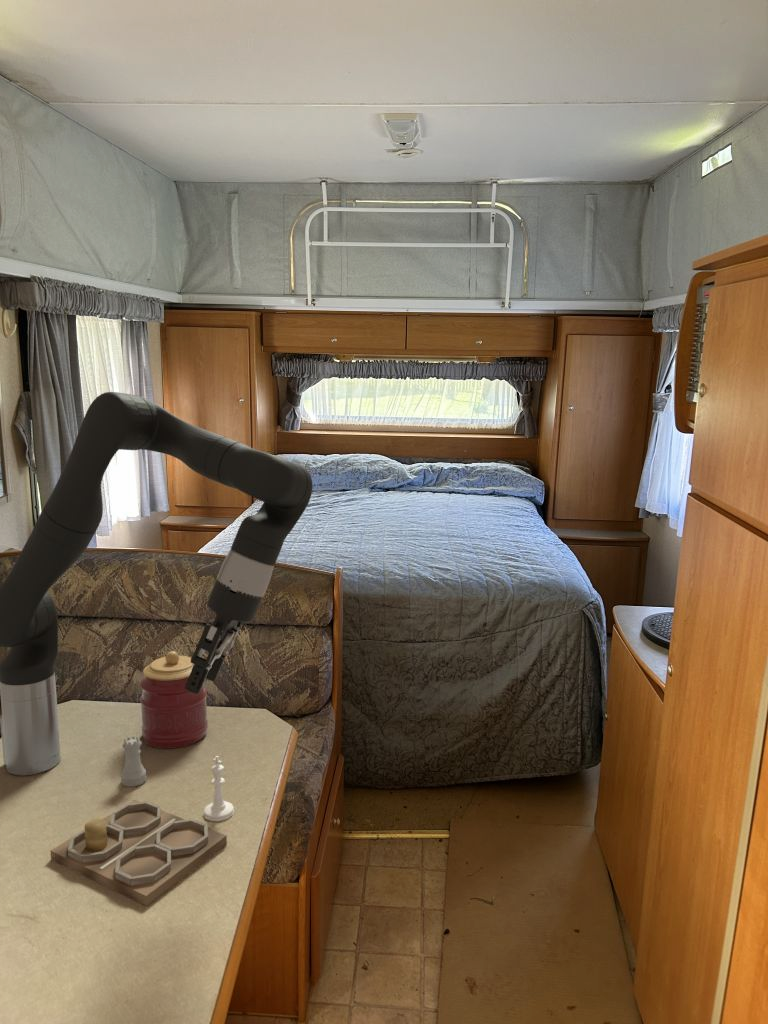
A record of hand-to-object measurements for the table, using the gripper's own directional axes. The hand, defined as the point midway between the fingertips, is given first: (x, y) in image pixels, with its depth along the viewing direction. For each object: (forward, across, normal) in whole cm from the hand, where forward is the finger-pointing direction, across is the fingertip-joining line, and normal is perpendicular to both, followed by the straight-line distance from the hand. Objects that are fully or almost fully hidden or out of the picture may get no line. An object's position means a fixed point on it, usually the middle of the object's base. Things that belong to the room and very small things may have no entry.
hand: (200, 684), depth 111 cm
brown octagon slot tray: (+27, -1, +1) cm, 27 cm away
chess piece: (+22, -12, +9) cm, 27 cm away
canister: (+24, -39, -8) cm, 46 cm away
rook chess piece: (+27, -21, -8) cm, 35 cm away
